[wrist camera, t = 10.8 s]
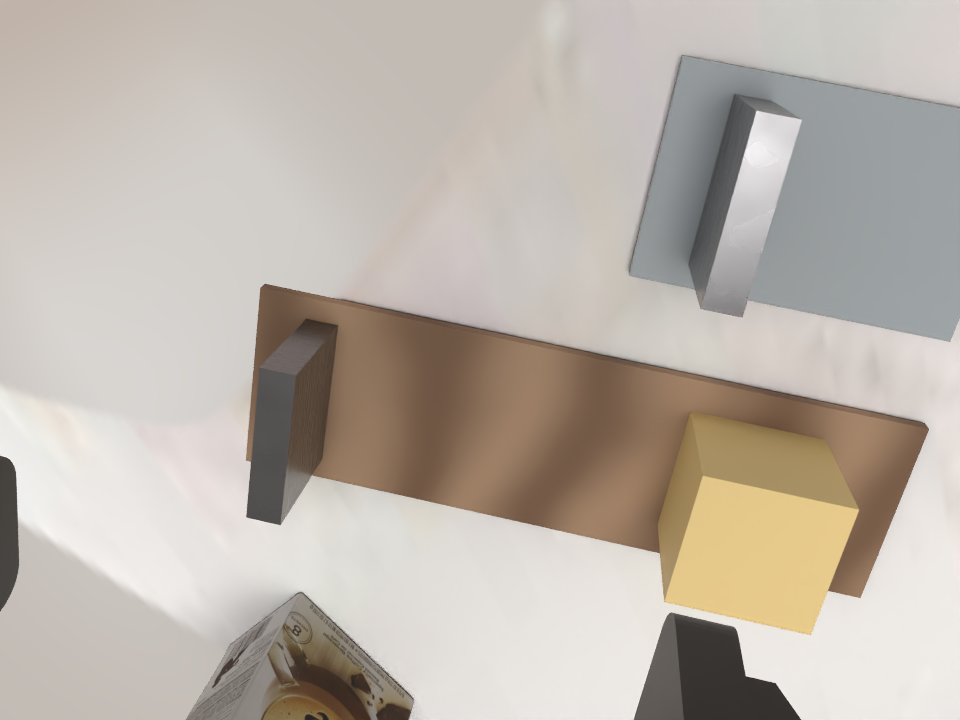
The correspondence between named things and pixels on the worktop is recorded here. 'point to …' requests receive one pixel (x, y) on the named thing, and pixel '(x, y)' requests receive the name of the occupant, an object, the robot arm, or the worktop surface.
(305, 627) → the coffee box
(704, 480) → the ochre cube
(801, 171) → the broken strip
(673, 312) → the worktop surface
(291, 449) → the walnut strip
